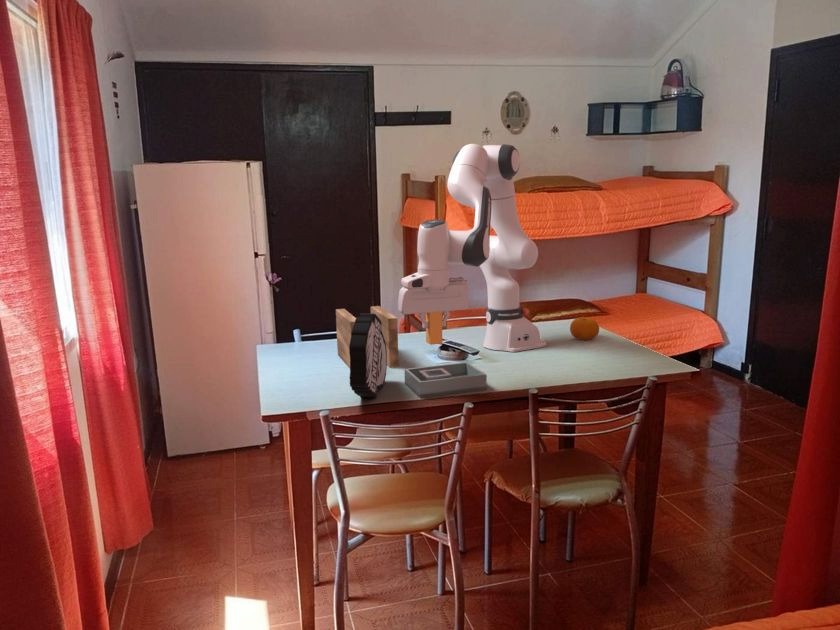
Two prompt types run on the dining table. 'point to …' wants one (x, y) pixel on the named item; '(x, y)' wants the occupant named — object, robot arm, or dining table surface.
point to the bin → (447, 380)
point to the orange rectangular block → (434, 328)
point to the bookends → (387, 327)
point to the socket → (434, 374)
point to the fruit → (584, 328)
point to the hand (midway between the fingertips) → (434, 327)
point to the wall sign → (367, 356)
